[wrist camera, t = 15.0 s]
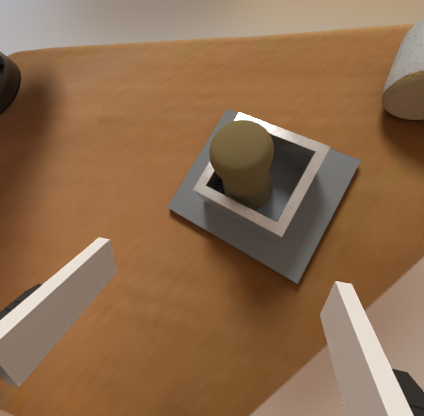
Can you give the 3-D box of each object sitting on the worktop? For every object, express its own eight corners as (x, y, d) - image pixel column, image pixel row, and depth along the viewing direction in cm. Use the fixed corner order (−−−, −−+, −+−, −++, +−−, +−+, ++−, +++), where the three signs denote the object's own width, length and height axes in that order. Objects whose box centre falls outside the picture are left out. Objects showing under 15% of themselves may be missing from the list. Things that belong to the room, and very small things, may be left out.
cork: (231, 218, 25) (211, 192, 15) (217, 174, 27) (191, 123, 17) (280, 202, 24) (294, 163, 14) (263, 158, 26) (265, 94, 16)
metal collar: (203, 201, 27) (192, 189, 22) (241, 137, 28) (239, 112, 23) (276, 241, 24) (282, 237, 19) (315, 167, 25) (330, 146, 20)
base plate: (169, 208, 28) (166, 207, 27) (227, 113, 30) (226, 108, 29) (295, 282, 23) (297, 283, 22) (356, 163, 25) (361, 160, 24)
